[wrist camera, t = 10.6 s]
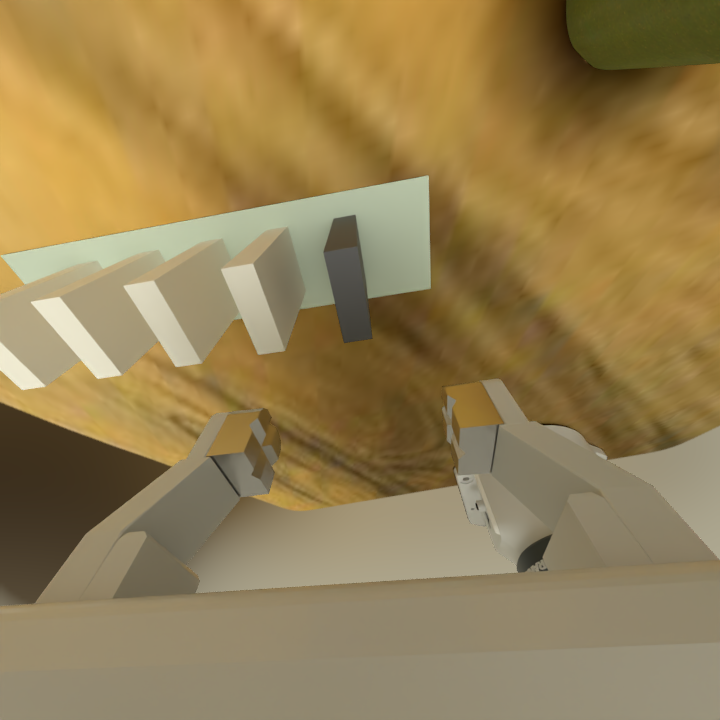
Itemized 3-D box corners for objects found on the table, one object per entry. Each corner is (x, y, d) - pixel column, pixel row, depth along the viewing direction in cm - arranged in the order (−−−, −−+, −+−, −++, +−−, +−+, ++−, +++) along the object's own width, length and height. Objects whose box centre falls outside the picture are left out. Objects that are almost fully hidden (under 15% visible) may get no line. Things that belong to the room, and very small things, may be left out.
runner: (430, 287, 24) (430, 288, 24) (78, 343, 26) (76, 344, 26) (427, 175, 20) (428, 175, 19) (3, 254, 22) (0, 255, 22)
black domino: (366, 281, 24) (372, 338, 16) (346, 285, 24) (344, 342, 16) (355, 214, 21) (357, 246, 13) (333, 218, 21) (323, 252, 13)
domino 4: (305, 291, 24) (285, 350, 16) (287, 294, 24) (258, 354, 17) (287, 226, 21) (252, 263, 14) (266, 230, 21) (220, 269, 14)
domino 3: (247, 300, 24) (202, 363, 17) (229, 303, 24) (176, 367, 17) (222, 238, 21) (153, 280, 14) (201, 241, 22) (122, 285, 14)
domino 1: (136, 318, 25) (45, 386, 18) (119, 321, 25) (22, 389, 18) (97, 260, 22) (-31, 312, 15) (78, 264, 22) (-58, 317, 15)
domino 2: (191, 309, 25) (122, 375, 17) (173, 312, 25) (97, 378, 17) (158, 249, 22) (59, 296, 14) (138, 253, 22) (30, 301, 14)
